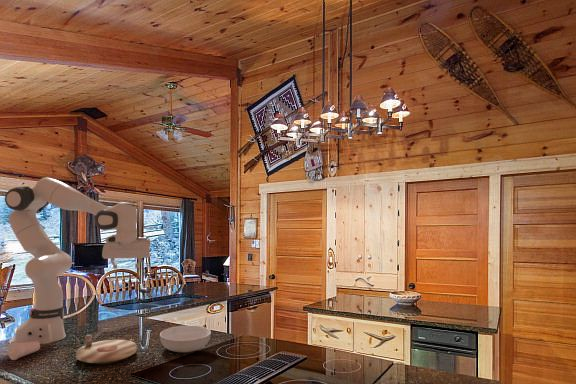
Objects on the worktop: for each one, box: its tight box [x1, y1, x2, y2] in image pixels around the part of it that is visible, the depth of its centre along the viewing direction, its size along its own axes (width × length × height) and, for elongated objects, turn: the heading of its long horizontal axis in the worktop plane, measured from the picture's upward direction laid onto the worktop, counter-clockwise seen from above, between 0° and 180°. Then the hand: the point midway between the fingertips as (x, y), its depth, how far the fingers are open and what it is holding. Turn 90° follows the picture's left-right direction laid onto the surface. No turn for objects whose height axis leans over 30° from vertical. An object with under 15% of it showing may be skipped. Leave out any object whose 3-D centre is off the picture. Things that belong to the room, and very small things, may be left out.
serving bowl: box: [159, 325, 212, 353], centre depth 180 cm, size 21×21×7 cm
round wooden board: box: [75, 334, 138, 364], centre depth 169 cm, size 22×22×6 cm
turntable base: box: [85, 358, 127, 366], centre depth 169 cm, size 16×16×2 cm
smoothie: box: [1, 341, 41, 361], centre depth 168 cm, size 6×6×14 cm
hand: (126, 268), depth 195 cm, fingers open, 8 cm apart
